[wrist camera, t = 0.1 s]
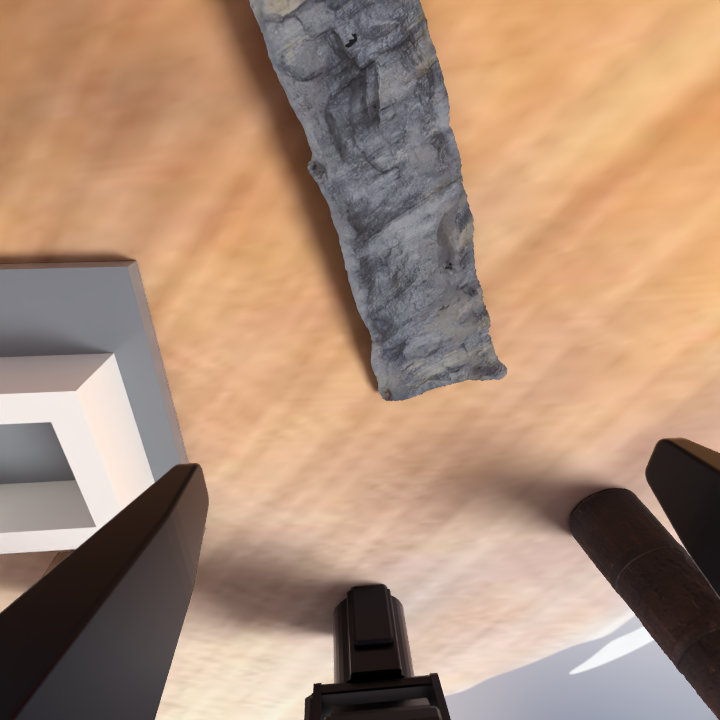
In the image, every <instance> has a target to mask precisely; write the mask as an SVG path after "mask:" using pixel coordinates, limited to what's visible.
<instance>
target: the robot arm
mask: <svg viewBox="0 0 720 720" xmlns="http://www.w3.org/2000/svg"><path fill="white" fill-rule="evenodd" d="M645 475H646V479H647V482H648V484H649V486H650V487H651V489H652V491H653V493H654V494H655V496H656V498H657V500H658V501H659V503H660V505H661V507H662V508H663V510H664V512H665V514H666V515H667V517H668V519H669V521H670V522H671V524H672V526H673V528H674V529H675V531H676V533H677V535H678V536H679V538H680V540H681V542H682V543H683V545H684V547H685V548H686V550H687V552H688V553H689V555H690V556H691V558H692V559H693V561H694V562H695V564H696V565H697V567H698V568H699V570H700V571H701V573H702V574H703V575H704V577H705V578H706V580H707V581H708V583H709V584H710V586H711V587H712V588H713V590H714V591H715V593H716V594H717V596H718V597H719V599H720V453H718V452H716V451H713V450H711V449H709V448H706V447H704V446H702V445H699V444H697V443H694V442H692V441H690V440H687V439H684V438H665V439H661V440H659V441H658V442H657V444H656V445H655V448H654V450H653V453H652V455H651V458H650V460H649V462H648V465H647V467H646V471H645ZM208 504H209V498H208V492H207V488H206V484H205V479H204V475H203V471H202V468H201V466H200V465H199V464H197V463H186V464H177V465H175V466H174V467H172V468H171V469H170V470H169V471H168V472H166V473H165V474H164V475H163V476H162V477H160V478H159V479H158V480H157V481H156V482H155V483H153V484H152V485H151V486H150V487H149V488H147V489H146V490H145V491H144V492H143V493H142V494H140V495H139V496H138V497H137V498H136V499H134V500H133V501H132V502H131V503H130V504H129V505H127V506H126V507H125V508H124V509H123V510H121V511H120V512H119V513H118V514H117V515H116V516H114V517H113V518H112V519H111V520H110V521H108V522H107V523H106V524H105V525H104V526H103V527H101V528H100V529H99V530H98V531H97V532H95V533H94V534H93V535H92V536H91V537H90V538H88V539H87V540H86V541H85V542H84V543H82V544H81V545H80V546H79V547H78V548H77V549H75V550H74V551H73V552H72V553H71V554H69V555H68V556H67V557H66V558H65V559H64V560H62V561H61V562H60V563H59V564H58V565H56V566H55V567H54V568H53V569H52V570H51V571H49V572H48V573H47V574H46V575H45V576H43V577H42V578H41V579H40V580H39V581H38V582H36V583H35V584H34V585H33V586H32V587H30V588H29V589H28V590H27V591H26V592H24V593H23V594H22V595H21V596H20V597H19V598H17V599H16V600H15V601H14V602H13V603H11V604H10V605H9V606H8V607H7V608H6V609H4V610H3V611H2V612H1V613H0V720H155V717H156V713H157V710H158V707H159V703H160V700H161V696H162V693H163V690H164V686H165V683H166V680H167V676H168V673H169V669H170V666H171V663H172V659H173V656H174V653H175V649H176V646H177V643H178V639H179V636H180V632H181V629H182V626H183V622H184V619H185V616H186V612H187V609H188V605H189V602H190V598H191V595H192V591H193V587H194V582H195V577H196V572H197V566H198V561H199V555H200V550H201V544H202V539H203V533H204V528H205V522H206V517H207V511H208ZM333 635H334V684H323V685H322V683H316V684H314V688H313V693H312V695H310V696H308V697H307V698H305V717H304V720H451V719H450V716H449V712H448V708H447V705H446V701H445V698H444V694H443V691H442V687H441V684H440V680H439V677H438V674H437V673H430V675H426V676H414V671H413V665H412V659H411V653H410V647H409V641H408V635H407V629H406V623H405V617H404V611H403V606H402V604H401V603H400V601H399V600H398V599H396V598H395V597H393V596H391V592H390V589H387V587H386V586H385V585H375V586H361V587H353V588H351V591H349V592H347V598H346V599H345V600H343V601H342V602H341V603H340V604H338V605H337V607H336V608H335V610H334V613H333Z"/></svg>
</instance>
